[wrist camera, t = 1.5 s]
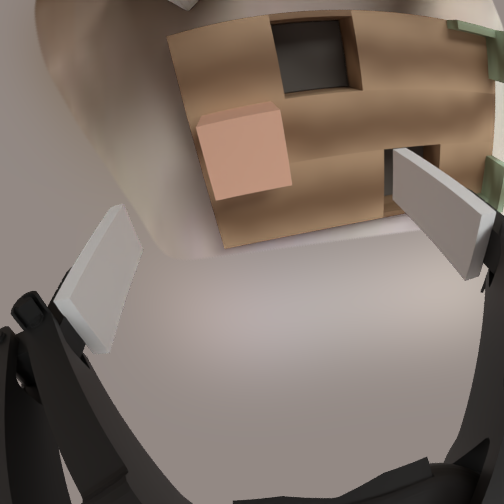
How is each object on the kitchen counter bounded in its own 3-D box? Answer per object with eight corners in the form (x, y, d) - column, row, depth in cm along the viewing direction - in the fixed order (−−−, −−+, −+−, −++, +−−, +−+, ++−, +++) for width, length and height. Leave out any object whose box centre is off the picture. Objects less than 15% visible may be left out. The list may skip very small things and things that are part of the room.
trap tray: (173, 39, 19) (156, 32, 14) (471, 29, 17) (513, 34, 12) (224, 230, 29) (224, 270, 24) (470, 186, 28) (502, 212, 23)
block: (201, 115, 20) (195, 127, 17) (271, 101, 20) (280, 109, 16) (217, 177, 23) (215, 200, 20) (282, 164, 22) (292, 185, 19)
